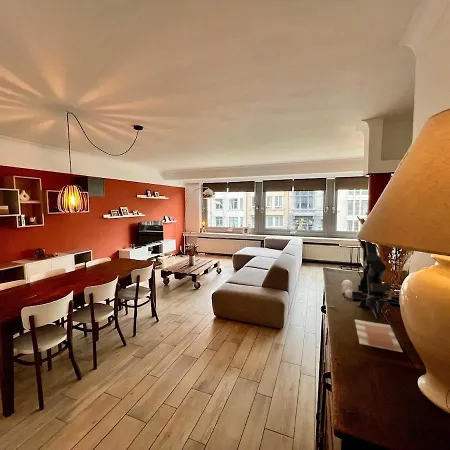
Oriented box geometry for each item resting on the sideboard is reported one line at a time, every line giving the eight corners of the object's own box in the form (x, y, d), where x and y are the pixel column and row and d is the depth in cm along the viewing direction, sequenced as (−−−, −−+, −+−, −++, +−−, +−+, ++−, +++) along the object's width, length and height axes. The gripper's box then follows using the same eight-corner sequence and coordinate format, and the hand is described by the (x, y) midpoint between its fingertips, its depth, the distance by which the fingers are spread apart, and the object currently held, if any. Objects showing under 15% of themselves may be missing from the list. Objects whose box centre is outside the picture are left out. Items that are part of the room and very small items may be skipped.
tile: (364, 324, 106) (368, 338, 95) (386, 328, 103) (393, 343, 92) (364, 330, 107) (368, 344, 96) (386, 334, 104) (392, 349, 93)
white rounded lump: (352, 279, 153) (355, 287, 142) (351, 292, 154) (355, 301, 143) (341, 278, 155) (343, 286, 144) (340, 291, 157) (342, 299, 145)
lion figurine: (368, 298, 145) (369, 283, 145) (368, 295, 150) (368, 280, 149) (398, 302, 139) (400, 287, 138) (397, 299, 144) (398, 284, 143)
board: (354, 321, 117) (354, 319, 117) (389, 327, 111) (389, 325, 111) (359, 346, 96) (359, 343, 96) (402, 354, 91) (403, 352, 91)
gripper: (353, 272, 108) (353, 306, 99) (404, 277, 101) (410, 315, 92) (350, 284, 116) (351, 317, 107) (398, 290, 109) (403, 325, 99)
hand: (377, 318), depth 101 cm, fingers closed
